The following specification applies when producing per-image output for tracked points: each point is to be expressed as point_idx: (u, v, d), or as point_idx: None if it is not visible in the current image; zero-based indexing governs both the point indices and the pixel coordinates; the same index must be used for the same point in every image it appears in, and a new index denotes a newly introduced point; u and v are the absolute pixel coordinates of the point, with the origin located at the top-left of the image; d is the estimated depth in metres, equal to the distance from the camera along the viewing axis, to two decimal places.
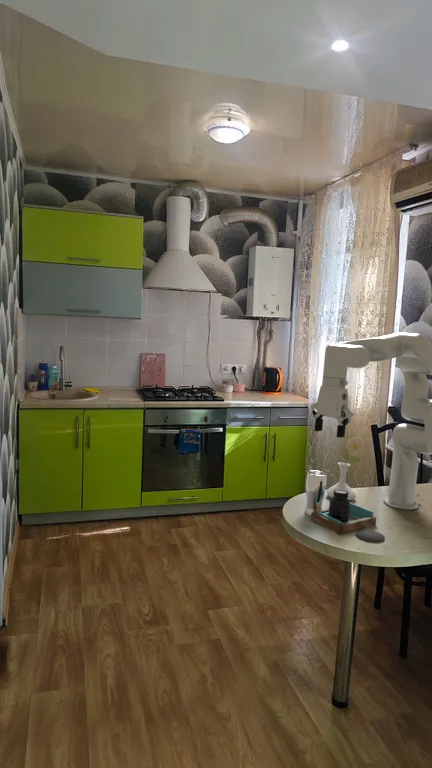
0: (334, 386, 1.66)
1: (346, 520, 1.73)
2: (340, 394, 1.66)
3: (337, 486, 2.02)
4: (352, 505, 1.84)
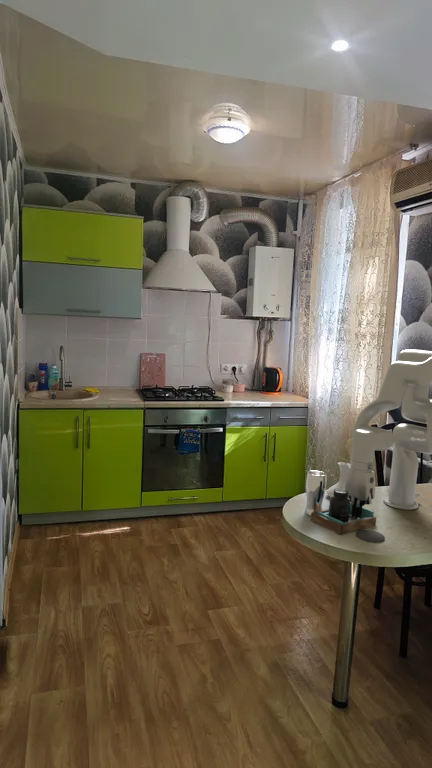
0: (362, 470, 1.76)
1: (346, 520, 1.73)
2: (368, 478, 1.75)
3: (337, 486, 2.02)
4: None
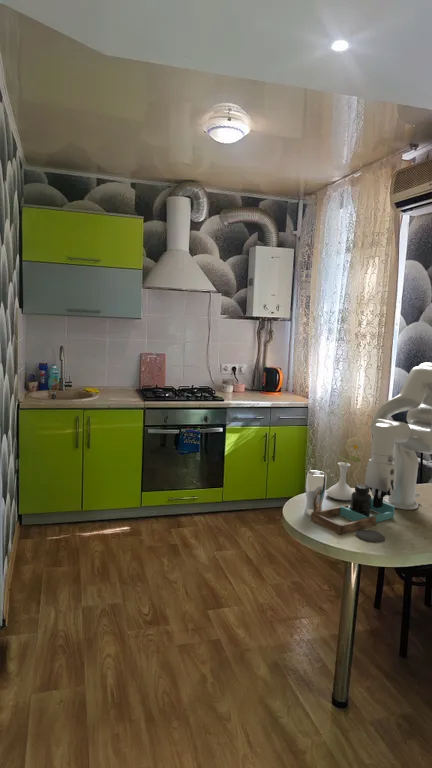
0: (383, 463, 1.82)
1: (367, 514, 1.80)
2: (388, 470, 1.82)
3: (337, 486, 2.02)
4: None
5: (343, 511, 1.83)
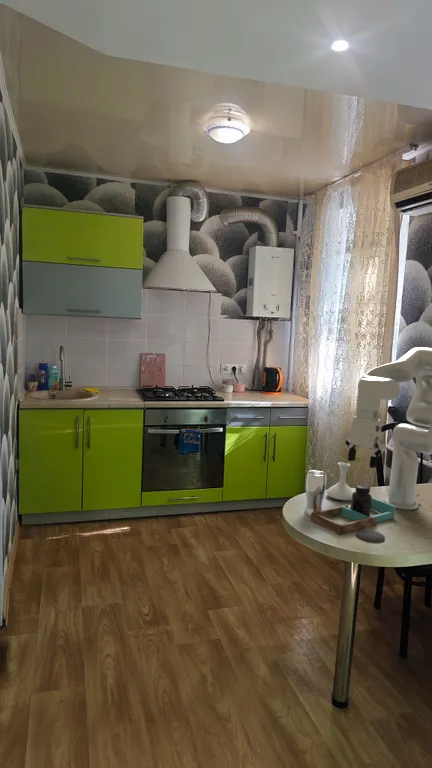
0: (368, 418, 1.74)
1: (368, 514, 1.80)
2: (374, 426, 1.73)
3: (337, 486, 2.02)
4: (374, 500, 1.92)
5: (344, 511, 1.83)
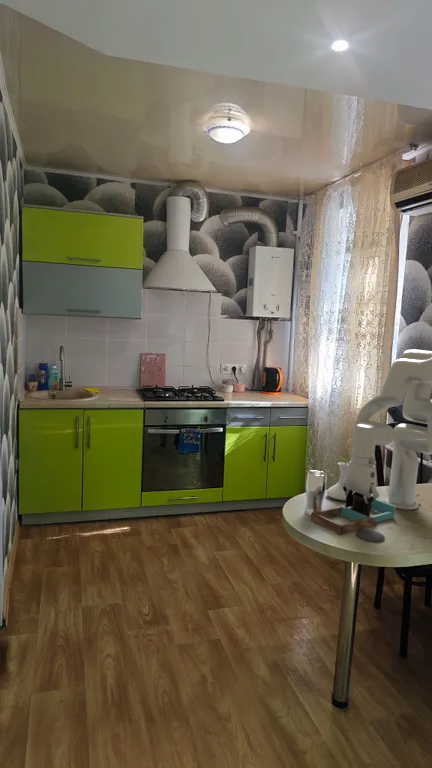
0: (363, 465, 1.76)
1: (368, 514, 1.80)
2: (369, 473, 1.75)
3: (337, 486, 2.02)
4: (374, 500, 1.92)
5: (344, 511, 1.83)
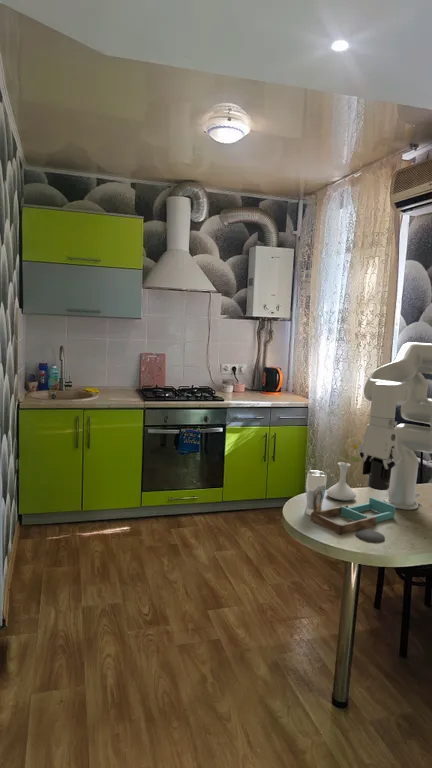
0: (383, 426, 1.60)
1: (388, 482, 1.64)
2: (389, 435, 1.59)
3: (337, 486, 2.02)
4: (374, 500, 1.92)
5: (344, 511, 1.83)
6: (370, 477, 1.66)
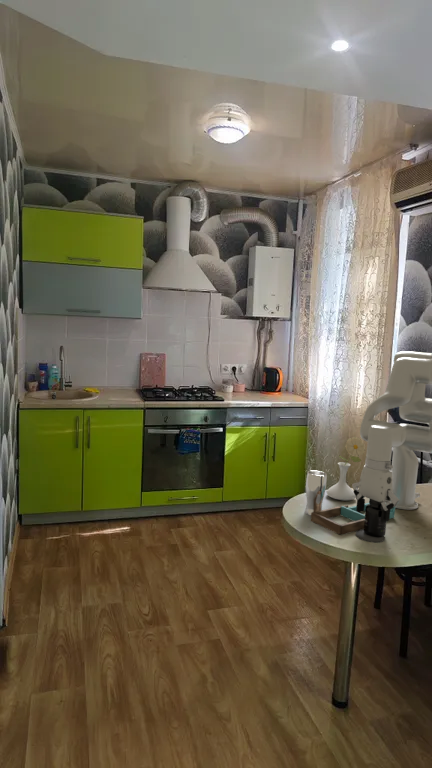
0: (379, 469, 1.61)
1: (384, 529, 1.66)
2: (385, 478, 1.60)
3: (337, 486, 2.02)
4: None
5: (344, 511, 1.83)
6: (366, 524, 1.67)
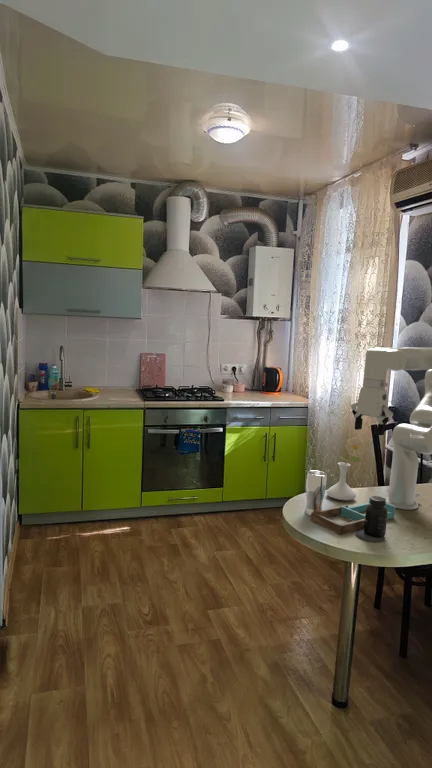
0: (375, 387, 1.79)
1: (384, 529, 1.66)
2: (380, 395, 1.78)
3: (337, 486, 2.02)
4: None
5: (344, 511, 1.83)
6: (366, 524, 1.67)
